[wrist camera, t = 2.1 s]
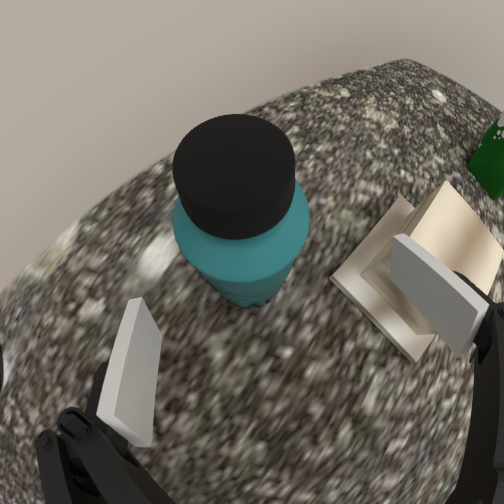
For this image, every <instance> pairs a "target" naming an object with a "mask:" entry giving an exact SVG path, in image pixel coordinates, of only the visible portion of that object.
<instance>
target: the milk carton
mask: <svg viewBox="0 0 504 504" xmlns="http://www.w3.org/2000/svg"><path fill="white" fill-rule="evenodd" d="M466 167H467V168H468V169H469V170H470V172H471V173H472V174H473V175H474V176H475V177H476V179H477V180H478V181H479V182H480V183H481V185H482V186H483V187H484V188H485V190H486V191H487V192H488V194H489V195H490V196H491V198H492V199H493V200H495V199H497V198H498V197H500V196H501V195H503V194H504V111H503V113H502V114H501V115H500V116H499V117H498V118H497V120H496V121H495V122H494V123H493V124H492V126H491V127H490V128H489V129H488V130H487V131H486V133H485V134H484V135H483V137H482V139H481V141H480V143H479V145H478V147H477V149H476V150H475V152H474V154H473V156H472V158H471V159H470V161H469V163H468V165H467V166H466Z"/></svg>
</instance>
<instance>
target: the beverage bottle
mask: <svg viewBox="0 0 504 504" xmlns="http://www.w3.org/2000/svg"><path fill="white" fill-rule="evenodd" d="M173 179H174V182H175V185H176V188H177V190H178V194H179V196H178V198H177V200H176V204H175V207H174V213H173V229H174V234H175V238H176V241H177V244H178V246H179V248H180V250H181V252H182V253H183V255H184V256H185V257H186V259H187V260H188V261H189V262H190V264H192V265H193V266H194V268H196V269H197V270H199V272H201V273H202V275H203V276H204V277H205V278H206V279H207V280H208V281H209V282H210V283H211V284H210V283H209V284H210V286H211V287H212V285H213V286H214V287H215V288H214V287H213V288H214V290H215V289H216V291H217V292H218V291H219V292H220V293H221V294H222V295H223V296H224V297H225V298H224V299H227V301H228V300H229V301H230V302H232V304H234V305H236V306H238V307H240V306H242V308H243V307H247V308H249V307H257V308H258V307H260V305H262V306H263V304H265V303H266V305H267V303H269V302H270V300H271V299H272V298H273V297H274V296H275V295H276V294H277V292H278V291H279V290H280V288H281V286H282V284H283V282H284V281H285V279H286V277H287V275H288V273H289V272H290V269H291V266H292V264H293V262H295V258H296V257H297V255H298V254H299V253H300V251H301V249H302V247H303V245H304V244H305V241H306V238H307V235H308V231H309V226H310V212H309V206H308V202H307V199H306V197H305V194H304V192H303V190H302V189H301V187H300V185H299V184H298V183H297V181H296V180H295V154H294V151H293V147H292V145H291V143H290V141H289V139H288V138H287V136H286V135H285V134H284V133H283V131H281V130H280V129H279V128H278V127H277V126H275V125H274V124H272V123H270V122H269V121H267V120H264V119H262V118H259V117H256V116H251V115H245V114H230V115H223V116H218V117H215V118H212V119H209V120H207V121H205V122H203V123H201V124H200V125H198V126H196V127H195V128H194V129H192V130H191V131H190V132H189V133H188V134H187V135H186V136H185V137H184V138H183V140H182V141H181V143H180V144H179V146H178V148H177V150H176V152H175V155H174V158H173ZM192 265H191V266H192ZM293 268H294V267H293ZM197 270H196V271H197ZM201 273H200V274H201ZM203 276H202V277H203ZM200 277H201V276H200ZM202 277H201V278H202ZM288 278H289V277H288ZM288 278H287V279H288ZM202 279H203V278H202ZM204 281H205V279H204ZM206 282H207V281H206ZM284 283H286V282H284ZM282 287H284V286H282ZM281 290H282V289H281ZM219 295H220V294H219ZM277 296H278V295H277ZM221 297H222V296H221ZM275 298H276V297H275ZM229 301H228V302H229ZM230 302H229V303H230ZM230 304H231V303H230Z"/></svg>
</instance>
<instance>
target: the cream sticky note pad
mask: <svg viewBox="0 0 504 504" xmlns="http://www.w3.org/2000/svg"><path fill="white" fill-rule="evenodd" d="M403 233H404V234H406V235H407V236H408V237H410V238H411V239H412V240H414V241H415V242H416V243H418V244H419V245H420V246H422V247H423V248H424V249H425V250H427V251H428V252H429V253H431V254H432V255H433V256H434V257H436V258H437V259H438V260H439V261H440V262H442V263H443V264H444V265H445V266H447V267H448V268H449V269H450V270H451V271H452V272H453V271H457V272H459V273H461V274H463V275H464V276H466V277H467V278H468V279H469V280H470V281H471V282H473V283H474V284H475V285H476V287H478V288H479V289H480V290H482V291H483V292H484V293H485V294H486V295H488V293H489V291H490V288H491V286H492V283H493V281H494V278H495V276H496V273H497V271H498V268H499V265H500V262H501V260H502V257H503V254H504V251H503V249H502V248H501V246H500V245H499V243H498V242H497V241H496V239H495V238H494V237H493V235H492V234H491V232H490V231H489V230H488V228H487V227H486V226H485V225H484V223H483V222H482V221H481V220H480V218H479V217H478V216H477V215H476V213H475V212H474V211H473V210H472V209H471V207H470V206H469V205H468V204H467V203H466V202H465V200H464V199H463V198H462V197H461V196H460V195H459V194H458V193H457V191H456V190H455V189H454V188H453V187H452V186H451V185H450V184H449V183H448V182H447V181H446V180H445V181H444V182H443V183H442V184H441V185H440V186H439V187H438V188H437V189H436V190H435V191H434V192H433V193H431V194H430V195H429V196H428V197H427V198H426V199H425V200H424V201H423V202H422V203H421V204H420V205H418V206H417V207H416V208H414V207H413V206H412V205H411V204H410V203H409V202H408V201H407V200H406V199H405V198H404V197H403V196H402V195H400V196H399V197H398V198H397V199H396V200H395V202H394V203H393V204H392V205H391V207H390V208H389V209H388V210H387V212H386V213H385V214H384V215H383V217H382V218H381V219H380V220H379V221H378V223H377V224H376V225H375V226H374V227H373V229H372V230H371V231H370V232H369V233H368V235H367V236H366V237H365V238H364V239H363V240H362V242H361V243H360V244H359V245H358V246H357V247H356V249H355V250H354V251H353V252H352V253H351V254H350V255H349V257H348V258H347V259H346V260H345V261H344V262H343V263H342V264H341V266H340V267H339V268H338V269H337V270H336V271H335V272H334V273H333V274H332V275H331V277H330V278H329V279H330V280H331V281H332V282H333V283H334V284H335V285H336V286H337V287H338V288H339V289H340V290H341V291H342V292H343V293H344V294H345V295H346V296H347V297H348V298H349V299H350V300H351V301H352V302H353V303H354V304H355V305H356V306H357V307H358V308H359V309H360V310H361V311H362V312H363V313H364V314H365V315H366V316H367V317H368V318H369V319H370V320H371V321H372V322H373V323H374V324H375V325H376V326H377V328H378V329H379V330H380V331H381V332H382V333H383V334H384V335H385V336H386V337H387V338H388V339H389V340H390V341H391V342H392V343H393V344H394V345H395V346H396V347H397V348H398V349H399V350H400V352H401V353H402V354H403V355H404V356H405V357H406V358H407V359H408V360H409V361H413V362H417V361H418V359H419V358H420V356H421V355H422V354H423V352H424V351H425V349H426V348H427V346H428V345H429V343H430V342H431V340H432V339H433V337H434V336H435V334H438V333H437V332H436V330H435V329H434V328H433V327H432V326H431V325H430V323H429V322H428V321H427V320H426V319H425V317H424V316H423V315H422V314H421V313H420V312H419V311H418V309H417V308H416V307H415V306H414V305H413V304H412V303H411V302H410V300H409V299H408V298H407V297H406V296H405V295H404V294H403V293H402V292H401V291H400V289H399V288H398V287H397V286H396V285H395V284H394V283H393V282H392V281H391V280H390V279H389V278H390V269H391V258H392V244H393V236H395V235H399V234H403Z"/></svg>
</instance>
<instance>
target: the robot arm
mask: <svg viewBox="0 0 504 504" xmlns="http://www.w3.org/2000/svg"><path fill="white" fill-rule="evenodd" d="M389 279H390V280H391V281H392V282H393V283H394V284H395V285H396V286H397V287H398V288H399V289H400V291H401V292H402V293H403V294H404V295H405V296H406V297H407V298H408V299H409V300H410V302H411V303H412V304H413V305H414V306H415V307H416V308H417V309H418V311H419V312H420V313H421V314H422V315H423V316H424V317H425V319H426V320H427V321H428V322H429V323H430V325H431V326H432V327H433V328H434V329H435V330H436V332H437V333H438V334H439V335H440V336H441V338H442V339H443V340H444V341H445V343H446V344H447V345H448V346H449V348H450V349H451V350H452V351H453V353H454V354H455V355H456V356H457V358H458V357H460V356H462V355H463V354H465V353H466V352H468V351H469V349H470V347H471V345H472V343H473V342H474V343H475V344H476V345H477V346H476V348H475V350H474V351H473V353H472V355H471V357H470V359H469V363H471V361H472V359H473V358H474V356H475V361H474V389H473V401H472V411H471V419H470V426H469V433H468V439H467V444H466V449H465V454H464V458H463V463H462V467H461V471H460V474H459V478H458V482H457V485H456V487H455V489H454V491H453V492H452V493H451V495H450V496H449V498H448V499H447V501H446V503H445V504H504V302H500V303H497V304H496V303H494V302H493V301H492V300H491V299H490V298H489V297H488V296H487V295H486V294H485V293H484V292H483V291H482V290H480V289H479V288H478V287H476V285H475V284H474V283H473V282H471V281H470V280H469V279H468V278H467V277H466V276H464V275H463V274H461V273H459V272H457V271H453V272H452V271H451V270H450V269H449V268H448V267H447V266H445V265H444V264H443V263H442V262H440V261H439V260H438V259H437V258H436V257H434V256H433V255H432V254H431V253H429V252H428V251H427V250H425V249H424V248H423V247H422V246H420V245H419V244H418V243H416V242H415V241H414V240H412V239H411V238H410V237H408V236H407V235H406V234H404V233H403V234H399V235H395V236H393V244H392V258H391V269H390V278H389ZM161 343H162V334H161V333H160V331H159V329H158V327H157V325H156V323H155V321H154V319H153V317H152V316H151V314H150V312H149V310H148V308H147V306H146V304H145V302H144V300H143V298H142V297H140V298H135V299H130V300H129V301H128V304H127V307H126V310H125V313H124V316H123V319H122V322H121V325H120V328H119V331H118V334H117V337H116V341H115V344H114V347H113V351H112V354H111V357H110V361H109V362H102V364H101V365H100V367H99V368H98V370H97V371H96V374H95V377H94V383H93V385H92V388H91V389H92V391H91V392H90V396H89V400H88V403H87V408H86V412H85V414H84V413H83V412H82V411H81V410H80V409H79V408H76V407H69V408H67V409H65V410H64V411H63V412H62V413H61V414H60V415H59V417H58V420H57V429H58V430H59V431H60V432H61V433H62V434H61V435H57V434H56V433H55V432H53V431H52V430H49V429H48V430H44V431H42V432H41V433H40V434H39V435H38V437H37V440H36V452H37V459H38V466H39V472H40V477H41V482H42V487H43V491H44V496H45V500H46V504H176V503H175V502H174V501H173V500H172V499H171V498H170V497H169V496H168V495H167V494H166V493H165V492H164V491H163V490H162V488H161V487H160V486H159V485H158V484H157V483H156V482H155V481H154V479H153V478H152V477H151V476H150V475H149V474H148V472H147V471H146V470H145V469H144V468H143V466H142V465H141V464H140V463H139V461H138V460H137V459H136V458H135V456H134V455H133V454H132V452H131V451H130V450H129V449H127V447H128V442H129V443H131V444H132V445H133V446H135V447H152V431H153V417H154V405H155V394H156V384H157V375H158V367H159V358H160V351H161ZM2 381H3V362H2V353H1V347H0V390H1V387H2Z"/></svg>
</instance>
